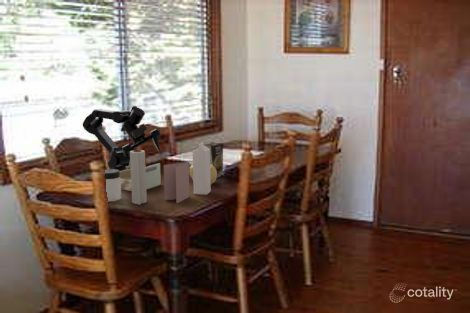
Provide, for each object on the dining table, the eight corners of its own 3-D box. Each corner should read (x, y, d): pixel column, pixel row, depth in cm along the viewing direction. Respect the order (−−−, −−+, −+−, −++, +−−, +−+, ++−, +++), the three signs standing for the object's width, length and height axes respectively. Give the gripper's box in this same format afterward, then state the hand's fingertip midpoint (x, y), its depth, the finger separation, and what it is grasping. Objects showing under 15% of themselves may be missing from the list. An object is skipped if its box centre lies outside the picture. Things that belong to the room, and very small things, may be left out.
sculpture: (186, 186, 269) (186, 162, 267) (199, 180, 280) (199, 158, 278) (209, 188, 264) (208, 164, 262) (221, 182, 275) (220, 160, 273)
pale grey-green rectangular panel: (138, 191, 259) (137, 169, 257) (159, 184, 272) (158, 163, 270) (141, 191, 258) (140, 169, 257) (161, 184, 271) (161, 163, 269)
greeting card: (188, 196, 250) (187, 161, 247) (196, 200, 244) (196, 164, 241) (163, 200, 244) (162, 164, 241) (172, 204, 238) (170, 167, 235)
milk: (193, 194, 254) (191, 143, 250) (197, 190, 260) (196, 141, 256) (207, 194, 253) (205, 143, 249) (211, 191, 258) (209, 141, 254)
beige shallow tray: (113, 188, 266) (112, 173, 264) (135, 181, 279) (135, 167, 278) (137, 192, 259) (136, 176, 258) (159, 184, 272) (159, 169, 271)
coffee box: (213, 179, 283) (213, 145, 280) (202, 177, 286) (201, 144, 283) (223, 175, 290) (223, 143, 287) (213, 174, 294) (212, 142, 291)
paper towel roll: (137, 199, 245) (134, 149, 242) (149, 201, 243) (147, 149, 239) (127, 204, 239) (125, 152, 235) (140, 205, 237) (138, 152, 233)
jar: (123, 200, 245) (122, 172, 243) (103, 202, 241) (102, 174, 239) (117, 195, 253) (116, 168, 251) (98, 198, 249) (97, 170, 247)
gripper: (113, 132, 262) (131, 157, 256) (149, 112, 268) (168, 137, 262) (116, 144, 272) (133, 169, 266) (151, 125, 278) (169, 149, 272)
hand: (151, 156), depth 266 cm, fingers open, 9 cm apart
